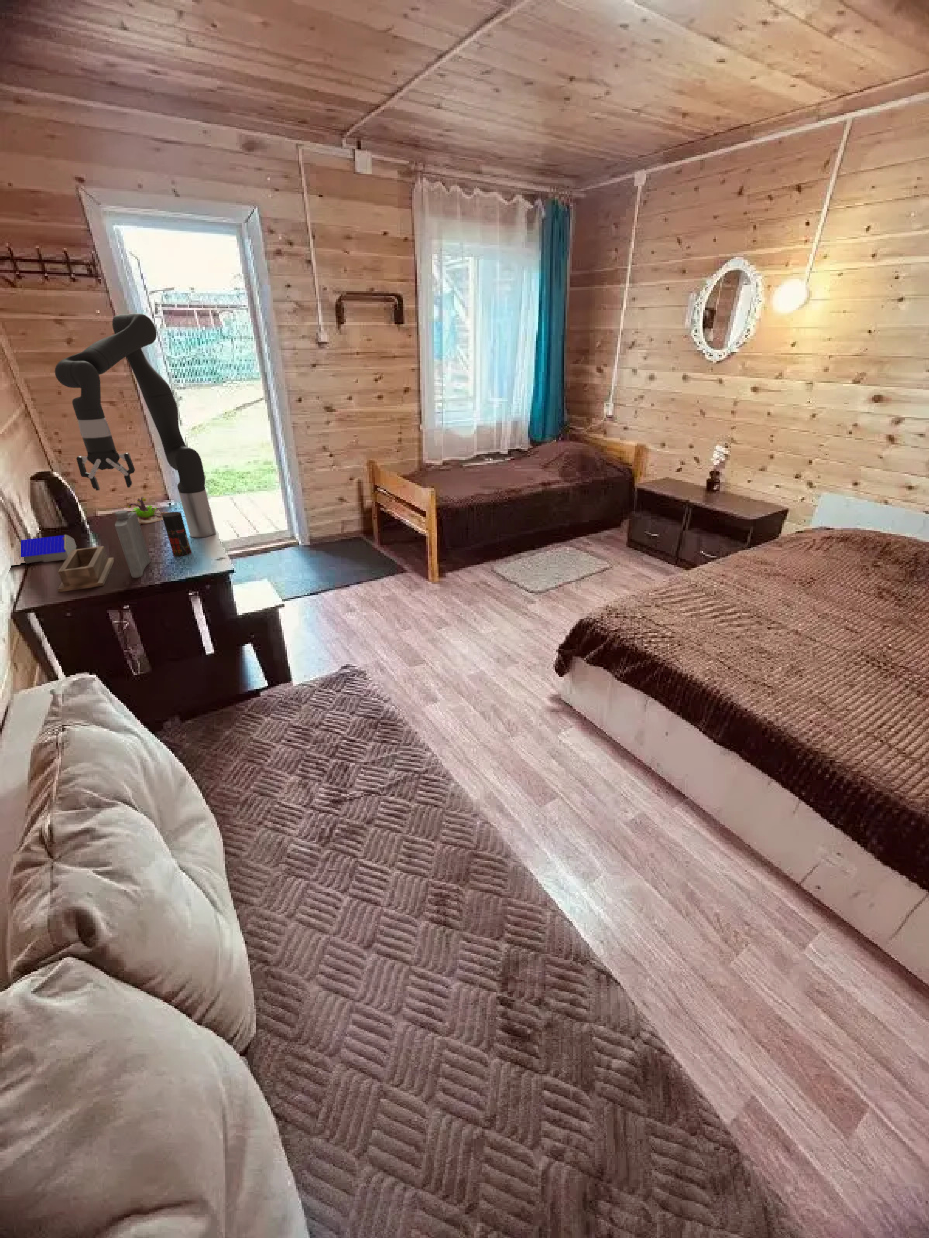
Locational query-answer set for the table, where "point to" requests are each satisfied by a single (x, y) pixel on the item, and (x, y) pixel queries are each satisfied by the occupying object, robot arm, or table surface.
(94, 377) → the robot arm
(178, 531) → the deodorant
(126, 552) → the hip flask
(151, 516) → the plant
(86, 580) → the walnut open box
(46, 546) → the blue slatted box
